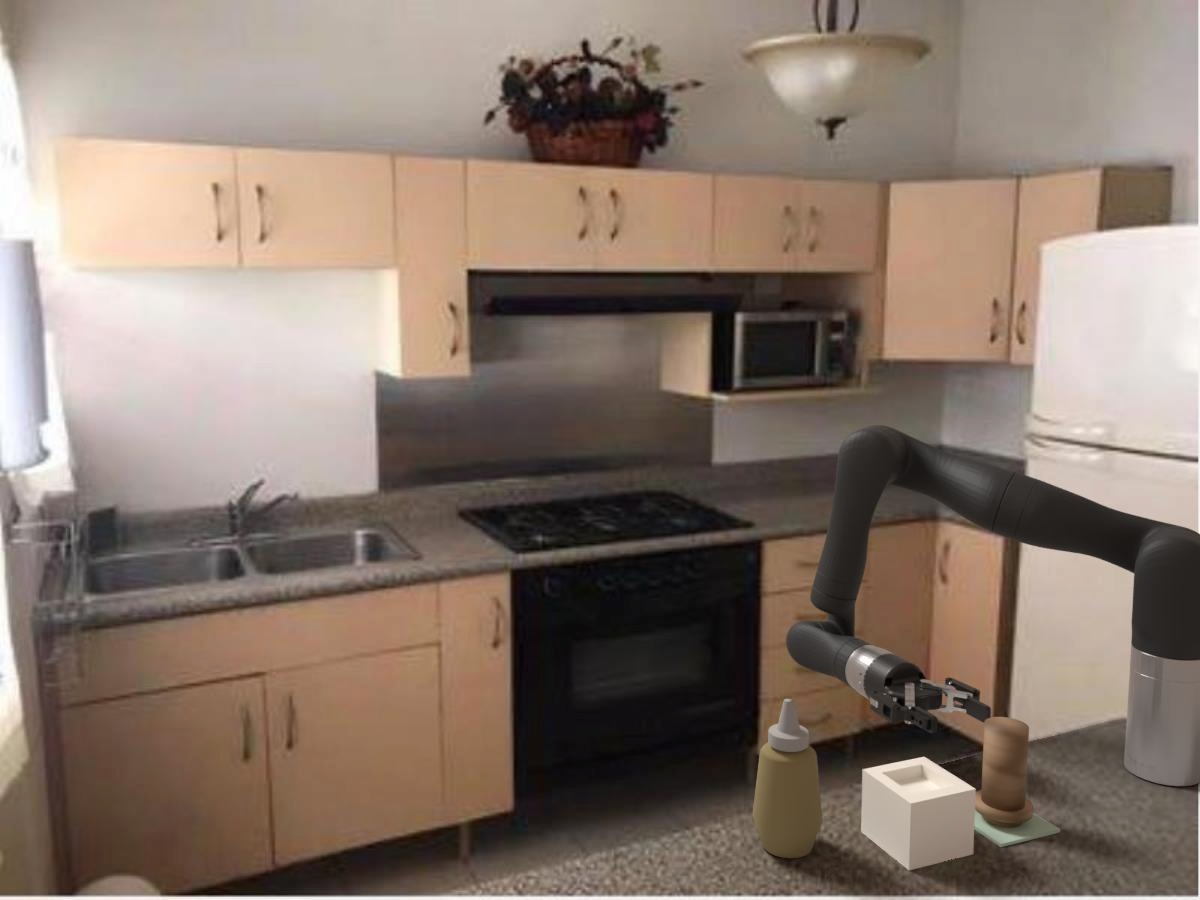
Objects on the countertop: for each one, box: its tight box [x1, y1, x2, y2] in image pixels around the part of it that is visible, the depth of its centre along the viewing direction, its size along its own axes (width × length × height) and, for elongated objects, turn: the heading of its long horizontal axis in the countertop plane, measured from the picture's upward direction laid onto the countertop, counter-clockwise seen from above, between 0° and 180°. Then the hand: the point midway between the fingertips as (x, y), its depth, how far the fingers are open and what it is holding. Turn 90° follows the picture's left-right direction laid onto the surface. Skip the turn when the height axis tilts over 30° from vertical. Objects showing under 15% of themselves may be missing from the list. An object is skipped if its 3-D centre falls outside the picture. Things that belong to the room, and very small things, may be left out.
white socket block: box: [860, 756, 977, 871], centre depth 116 cm, size 9×9×8 cm
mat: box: [974, 810, 1061, 848], centre depth 121 cm, size 9×9×1 cm
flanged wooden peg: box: [975, 716, 1034, 828], centre depth 120 cm, size 7×7×12 cm
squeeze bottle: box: [752, 698, 823, 859], centre depth 115 cm, size 8×8×18 cm
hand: (962, 720), depth 127 cm, fingers open, 8 cm apart
